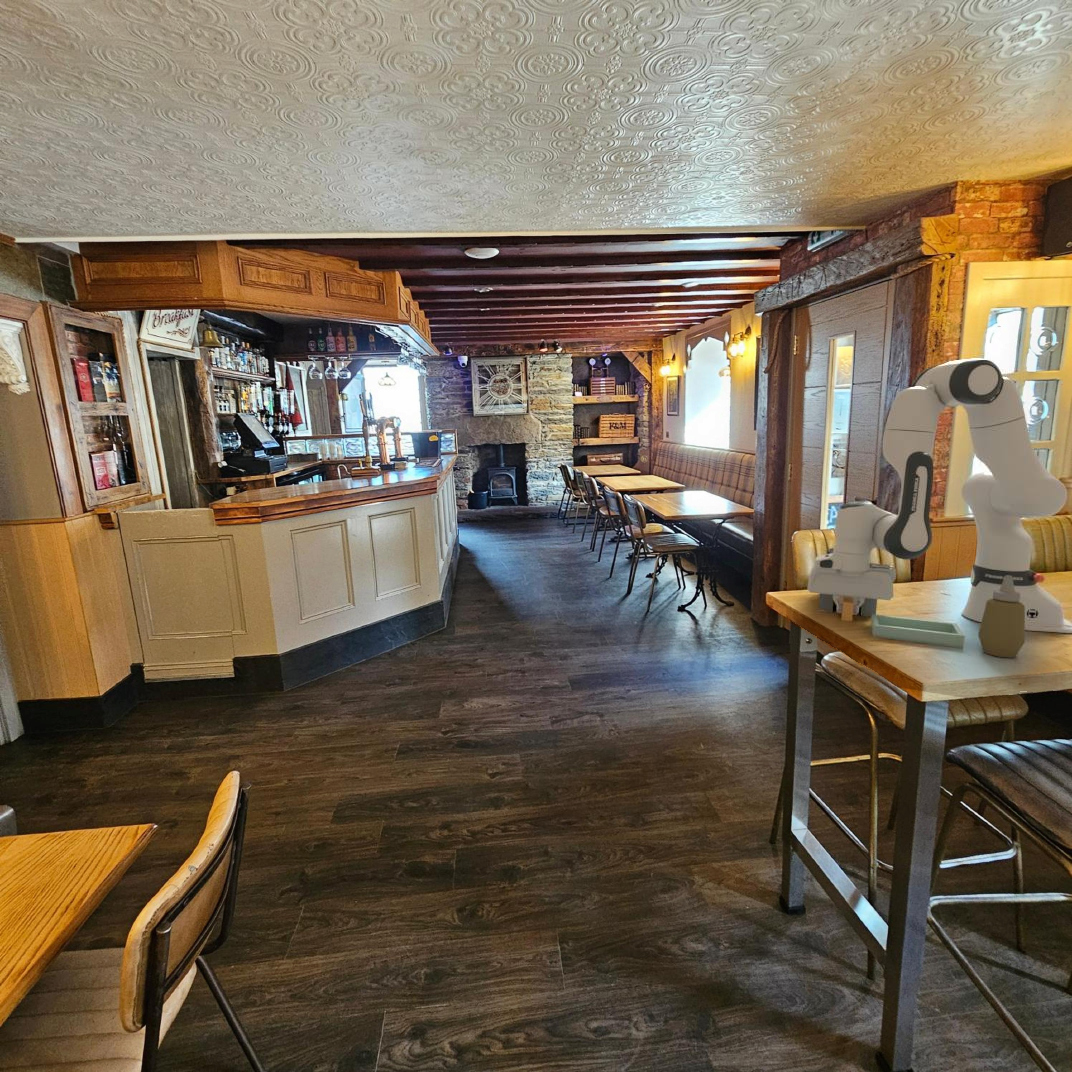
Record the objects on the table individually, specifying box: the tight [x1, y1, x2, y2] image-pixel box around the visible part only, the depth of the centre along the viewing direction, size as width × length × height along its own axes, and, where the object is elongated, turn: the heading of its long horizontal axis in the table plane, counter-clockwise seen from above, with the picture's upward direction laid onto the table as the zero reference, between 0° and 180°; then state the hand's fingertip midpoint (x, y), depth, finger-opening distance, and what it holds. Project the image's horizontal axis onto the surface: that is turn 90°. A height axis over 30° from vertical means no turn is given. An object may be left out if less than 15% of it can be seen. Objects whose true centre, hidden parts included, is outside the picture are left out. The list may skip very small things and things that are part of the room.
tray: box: [870, 613, 965, 649], centre depth 139 cm, size 18×10×3 cm, turn 62°
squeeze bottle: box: [978, 575, 1026, 659], centre depth 126 cm, size 8×8×18 cm
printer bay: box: [818, 562, 878, 617], centre depth 162 cm, size 14×13×12 cm
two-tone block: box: [836, 595, 858, 622], centre depth 157 cm, size 5×13×6 cm, turn 152°
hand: (847, 611), depth 153 cm, fingers closed on two-tone block, 2 cm apart
